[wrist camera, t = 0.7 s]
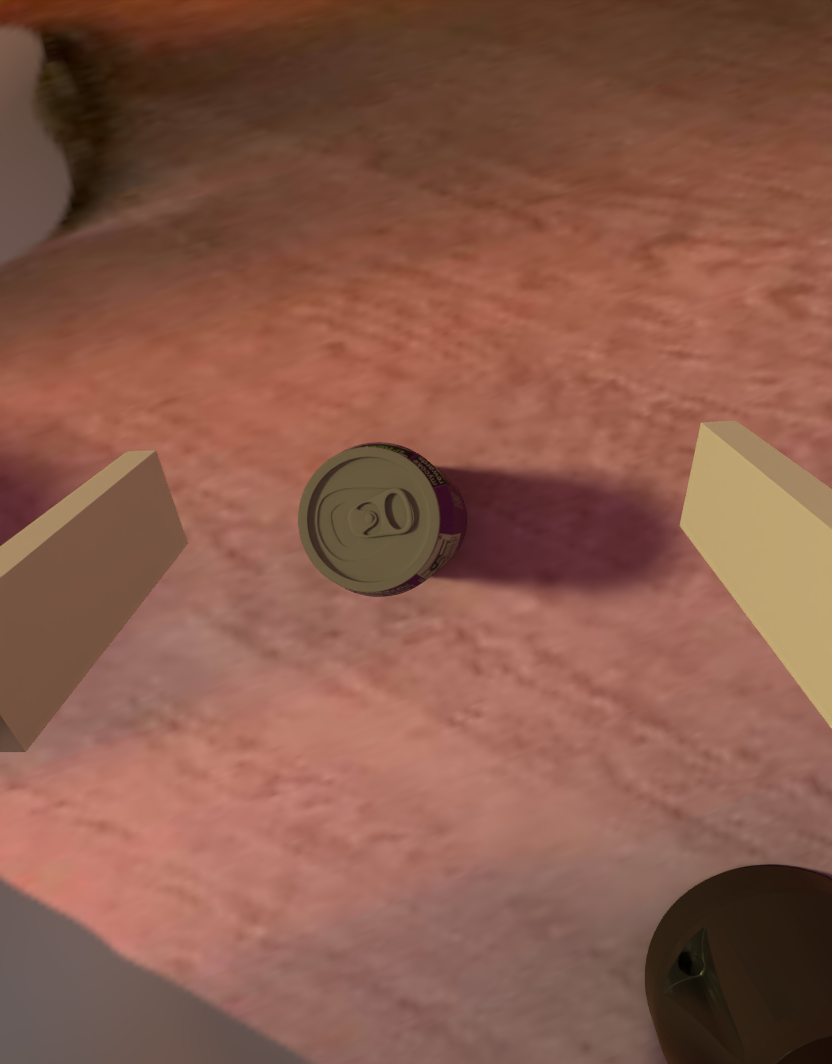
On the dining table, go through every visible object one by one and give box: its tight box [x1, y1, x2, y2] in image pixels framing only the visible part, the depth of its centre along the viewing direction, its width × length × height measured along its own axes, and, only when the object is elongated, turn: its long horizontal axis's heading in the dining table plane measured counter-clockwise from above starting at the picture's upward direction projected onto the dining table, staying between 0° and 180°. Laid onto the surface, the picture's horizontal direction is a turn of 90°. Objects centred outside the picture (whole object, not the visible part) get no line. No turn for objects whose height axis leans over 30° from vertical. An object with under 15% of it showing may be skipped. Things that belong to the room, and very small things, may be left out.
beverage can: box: [298, 442, 467, 597], centre depth 28 cm, size 7×7×12 cm
